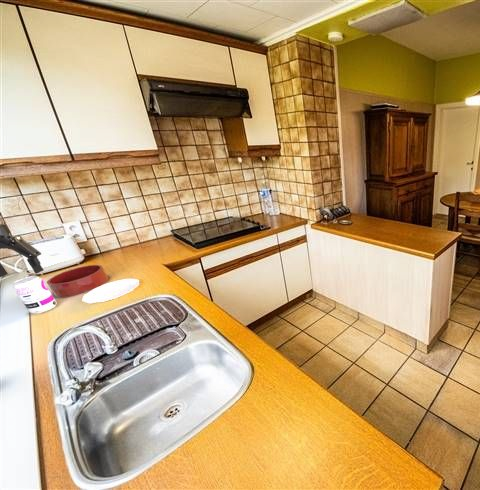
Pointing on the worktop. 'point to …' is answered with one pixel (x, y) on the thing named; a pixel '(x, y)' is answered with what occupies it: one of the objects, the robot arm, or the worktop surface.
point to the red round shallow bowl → (77, 280)
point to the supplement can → (34, 294)
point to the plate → (110, 291)
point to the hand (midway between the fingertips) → (21, 273)
